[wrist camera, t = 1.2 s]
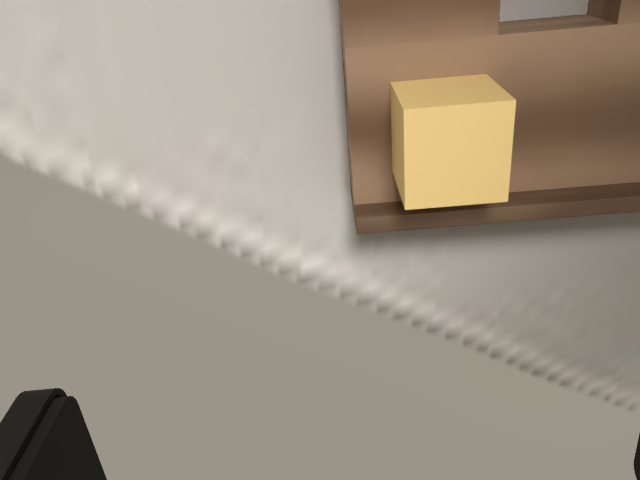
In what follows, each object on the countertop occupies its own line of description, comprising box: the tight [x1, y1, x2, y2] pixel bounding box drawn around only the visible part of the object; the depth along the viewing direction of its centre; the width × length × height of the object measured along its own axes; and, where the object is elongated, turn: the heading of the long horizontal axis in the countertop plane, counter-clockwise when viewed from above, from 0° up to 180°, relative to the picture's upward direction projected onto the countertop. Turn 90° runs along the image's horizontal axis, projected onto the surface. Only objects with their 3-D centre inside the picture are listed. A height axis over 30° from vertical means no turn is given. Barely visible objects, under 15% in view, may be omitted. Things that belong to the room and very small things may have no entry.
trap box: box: [339, 0, 640, 234], centre depth 26 cm, size 14×23×4 cm, turn 95°
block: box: [390, 74, 516, 210], centre depth 24 cm, size 4×4×4 cm
